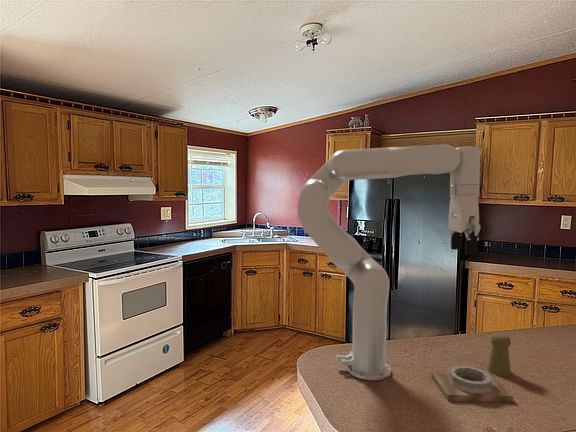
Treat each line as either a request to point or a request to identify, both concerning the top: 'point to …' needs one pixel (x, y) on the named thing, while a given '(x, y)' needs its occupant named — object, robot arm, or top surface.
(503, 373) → the olive green peg
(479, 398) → the socket board
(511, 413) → the top surface
